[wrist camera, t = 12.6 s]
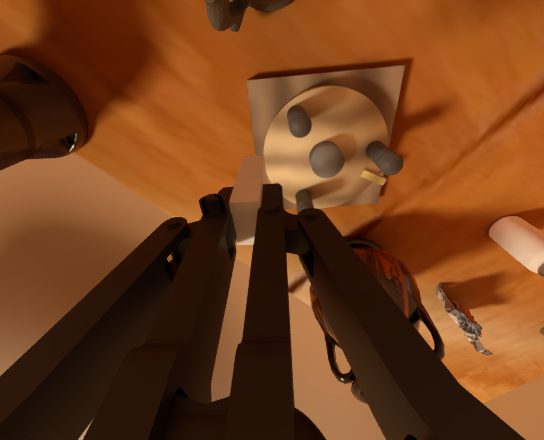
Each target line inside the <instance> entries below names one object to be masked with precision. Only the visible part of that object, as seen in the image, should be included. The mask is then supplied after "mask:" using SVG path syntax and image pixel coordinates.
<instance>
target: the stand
mask: <svg viewBox="0 0 544 440" xmlns="http://www.w3.org/2000/svg"><path fill="white" fill-rule="evenodd" d="M404 68H405V65H394V66H384V67H373V68H363V69H353V70H342V71H332V72H321V73H311V74H301V75H290V76H280V77H269V78H259V79H248V80H247V88H248V96H249V104H250V112H251V120H252V128H253V136H254V145H255V153H256V156H260V155H263V154H264V143H265V137H266V134H267V131H268V128H269V126H270V124H271V122H272V120H273V118H274V117H275V115H276V114H277V112H278V111H279V110H280V109H281V107H283V106H284V105H285V104H286V103H287V102H288V101H289V100H290V99H292V98H293V97H294V96H296V95H298V94H300V93H301V92H303V91H306V90H308V89H311V88H314V87H319V86H326V85H335V86H342V87H347V88H349V89H352V90H354V91H357V92H359V93H361V94H363V95H364V96H366V97H367V98H368V99H370V100H371V101H372V102H373V103H374V104H375V105H376V107H377V108H378V109H379V111H380V112H381V114H382V116H383V118H384V121H385V123H386V127H387V132H388V148H389V145H390V139H391V134H392V129H393V124H394V119H395V114H396V109H397V104H398V99H399V94H400V89H401V83H402V78H403V73H404ZM378 175H380V176H383V175H384V173H383V172H382V171H381V170H380V172H379V173H378ZM266 178H267V184H271V182H270V180H269V178H268V176H267V173H266ZM380 190H381V185H380V184H378V183H375V182H372V183H371V184H370V185H369V186H368V187H367V188H366V189H365V190H364V191H363V192H362V193H360V194H359V195H358V196H356V197H355V198H353V199H351V200H349V201H348V202H345V203H343V204H340V205H337V206H344V205H359V204H375V203H378V200H379V195H380ZM283 206H284V209H297V205H296V204H295V203H292V202H290V201H289V200H287V199H286V198H284V197H283Z"/></svg>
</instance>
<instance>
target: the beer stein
mask: <svg viewBox="0 0 544 440" xmlns="http://www.w3.org/2000/svg"><path fill="white" fill-rule="evenodd" d="M204 1H205V2H206V6H207V12H208V18H209V21H210V23H211V25H212V26H213V28H214V29H216V30H218V31H225V30H226V29H228V28H229V29H230V30H231V31H234V32H237V31H239V28H240V26H241V23H242V20H243V16H244V12H245V9H246V8H247V7H248V6H250V7H252V8H254V9H256V10H260V11H275V10H278V9H281V8H283V7H285V6H286V5H288V4H289V3H290V2H291V1H292V0H233V1H232V2H229V0H204Z"/></svg>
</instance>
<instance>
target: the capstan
mask: <svg viewBox="0 0 544 440" xmlns="http://www.w3.org/2000/svg"><path fill="white" fill-rule="evenodd" d="M263 155H264V159H265V169H266V173H267V176H268V178H269V180H270V182H271V184H273V183H279V184H280V185H281V186H282V191H283V197H284V198H286V199H287V200H289V201H290V202H292V203H295V204H296V205H297V212H298V213H299V212H300V211H301V210H303V209H306V208H328V207H334V206H337V205H340V204H343V203H345V202H348V201H349V200H351V199H353V198H355V197H356V196H358V195H359V194H360V193H362V192H363V191H364V190H365V189H366V188H367V187H368V186H369V185H370V184H371V183H372V182H375V183H378V184H380V185H383V184H384V183H385V182H386V180H387V179H386V178H385V177H383V176H380V175H378V173H379V172H380V170H381V171H382V172H383V173H384V174H385V175H389V176H390V175H395V174H397V173H398V172H399V171H400V170H401V169H402V167H403V160H402V158H401V157H399V156H398V155H397V154H396V153H394V152H393V151H392V150H391V149H389V148H388V132H387V127H386V123H385V121H384V118H383V116H382V114H381V112H380V111H379V109H378V108H377V107H376V105H375V104H374V103H373V102H372V101H371V100H370V99H368V98H367V97H366V96H364V95H363V94H361V93H359V92H357V91H354V90H352V89H349V88H347V87H342V86H335V85H326V86H319V87H314V88H311V89H308V90H306V91H303V92H301V93H300V94H298V95H296V96H294V97H293V98H292V99H290V100H289V101H288V102H287V103H286V104H285V105H284V106H283V107H281V109H280V110H279V111H278V112H277V114H276V115H275V117H274V118H273V120H272V122H271V124H270V126H269V128H268V131H267V134H266V137H265V143H264V154H263Z"/></svg>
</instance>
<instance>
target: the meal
mask: <svg viewBox="0 0 544 440" xmlns="http://www.w3.org/2000/svg"><path fill="white" fill-rule="evenodd" d="M442 287H443V286H442V284H441V283H440V284H439V285H438V287H437V288H438V292H437V291H436V295H437V296H438V298H440V299H441V301H442V303H443V305H444V307H445V310H446V311H447V313H448V314H449V315H450V316H451V318H452V319H453V320H454V322H455V323H457V324H458V326H459V328H460V329H461V330H462V331H463V332H464V335H465V336H466V337H467V339H468V340H469V341H471V342H470V343H471V344H473V346H474V348H475V349H476V351H477V352H481V353H483V354H486V355H493V354H492V353H491V352H490V351H488V350H486V349H485V348H484V347H483V345H482V344H481V343H480V341H479V339H478V336H480V337H482V336H481V335H482V334H481V330H482V327H481V326H480V325H479V324H477V322H476V321H474V317H473V316H471V313H470V311H469V310H468V309H466V308H463V306H458V305H457V303H456V302H455V301H454V300H453V302H454V304H452V303H451V302H450V301H449V300H448V298H447V297H446V295H445V294H444V293H443V291H442ZM454 305H455V306H454ZM446 308H447V309H446Z"/></svg>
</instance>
